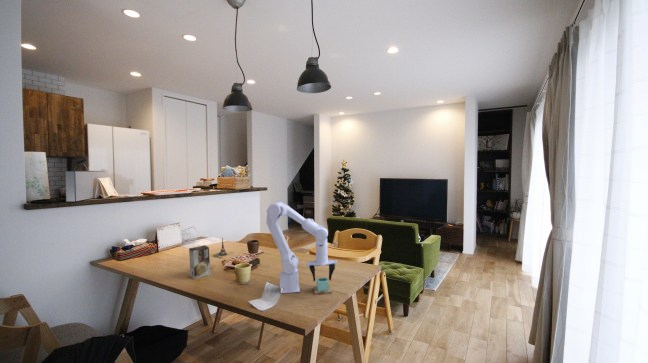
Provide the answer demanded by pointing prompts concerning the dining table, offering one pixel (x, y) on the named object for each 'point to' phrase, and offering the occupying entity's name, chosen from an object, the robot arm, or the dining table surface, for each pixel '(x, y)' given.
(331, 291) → the pin plate
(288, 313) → the dining table surface
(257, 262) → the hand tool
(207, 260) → the coffee box
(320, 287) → the teal hollow block
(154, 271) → the dining table surface
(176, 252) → the dining table surface
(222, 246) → the eiffel tower figurine
